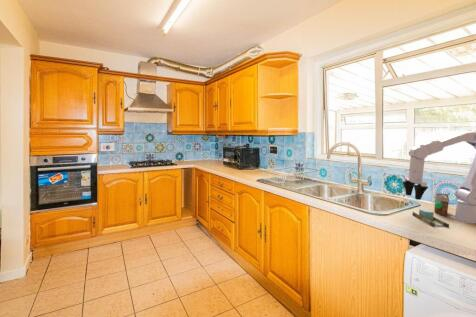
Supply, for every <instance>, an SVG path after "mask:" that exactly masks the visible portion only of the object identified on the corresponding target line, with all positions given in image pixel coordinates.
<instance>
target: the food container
mask: <svg viewBox="0 0 476 317" xmlns="http://www.w3.org/2000/svg"><path fill="white" fill-rule="evenodd" d="M433 199H434V210H433V212H434V214H437V215H440V216H444V217H447V216H448V212H449V211H448V210H449V205H450V204H449V203H450V196H449V193H439V192H436V193H435V194H434V195H433Z"/></svg>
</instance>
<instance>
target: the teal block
mask: <svg viewBox="0 0 476 317" xmlns="http://www.w3.org/2000/svg"><path fill="white" fill-rule="evenodd" d="M434 214H435V212H434V211H432V210H429V209H421V208H420V209H419V210H418V215H420V216H422V217H424V218H426V219H428V220H433V217H434Z"/></svg>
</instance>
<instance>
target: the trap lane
mask: <svg viewBox="0 0 476 317" xmlns="http://www.w3.org/2000/svg"><path fill="white" fill-rule="evenodd" d="M411 215H412V216H414V217H416V218H417V219H419V220H421V221H423V222H424V223H425V224H428V225H430V226H432V227H434V228H445V229H446V228H447V229H448V228H450V224H449V223H447V222H446V221H443V220H441V219H439V218H437V217H435V216H433V220H428V219H426V218H424V217H422V216H420V215H419V213H416V212H414V211H412V214H411Z"/></svg>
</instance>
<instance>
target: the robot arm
mask: <svg viewBox="0 0 476 317" xmlns="http://www.w3.org/2000/svg"><path fill="white" fill-rule="evenodd" d="M463 142H465V143H467V144H469V145H471V146H472V147H473V148H474V149H475V150H476V129H475V130H474V129H470V130H467V131H463V132H459V133H457V134H455V135H452V136H449V137H448V138H445V139H442V140H438V139H431V140H430V141H429V142H427V143H424V144H422V143H421V144H420V145H419V146H413V147H412V148H410V149H409V151H408V154H409V157H410V161H409V169H408V170H409V171H408V176H404V177H403V178H404V181H402V184H403V187H404V191H405V195H406V196H412V194H413V190H414V199H415V200H418V201H419V200H421V199H422V198H423V195H424V193H425V192H426V190H428V188H429V186H428V182H427V181H425V180H423V177H424V169H425V160H426V158H428V156H431V155H433V154H437V153H439V152H441V151H443V150H444V148H446V147H448V146H452V145H456V144H458V143H463ZM454 196H455V197H456V208H455V213H454V216H451V215H450V216H449V217H450V218H451V219H453V220H456V221H458V222H460V223H463V224H476V154H475V155H474V157H473V160H472V162H471V166H470V168H469V171H468V173H467V176H466V178H465V181H464V182H462V183H461V184H460V185H459V186H458V188H457V189H456V190H455V192H454Z"/></svg>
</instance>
